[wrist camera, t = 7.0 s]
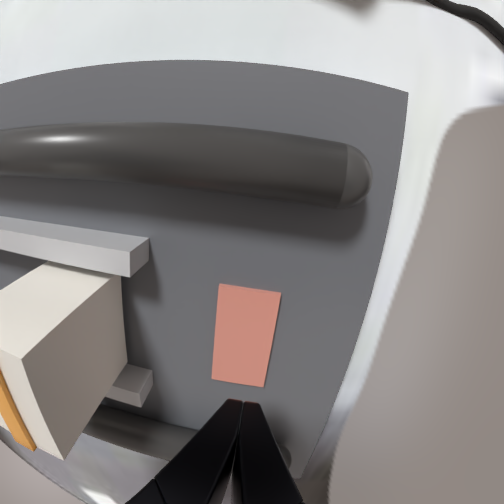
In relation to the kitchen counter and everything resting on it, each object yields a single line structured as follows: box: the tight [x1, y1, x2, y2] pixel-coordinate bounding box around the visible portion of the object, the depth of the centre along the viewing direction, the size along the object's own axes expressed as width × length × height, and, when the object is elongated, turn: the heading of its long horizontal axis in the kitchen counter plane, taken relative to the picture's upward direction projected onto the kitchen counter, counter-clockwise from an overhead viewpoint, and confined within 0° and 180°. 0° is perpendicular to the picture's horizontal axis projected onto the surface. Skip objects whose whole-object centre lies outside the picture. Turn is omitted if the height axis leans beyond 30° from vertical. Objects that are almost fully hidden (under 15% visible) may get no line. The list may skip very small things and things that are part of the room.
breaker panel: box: [0, 60, 408, 479], centre depth 12 cm, size 18×26×4 cm
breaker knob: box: [0, 261, 128, 460], centre depth 8 cm, size 4×3×6 cm
